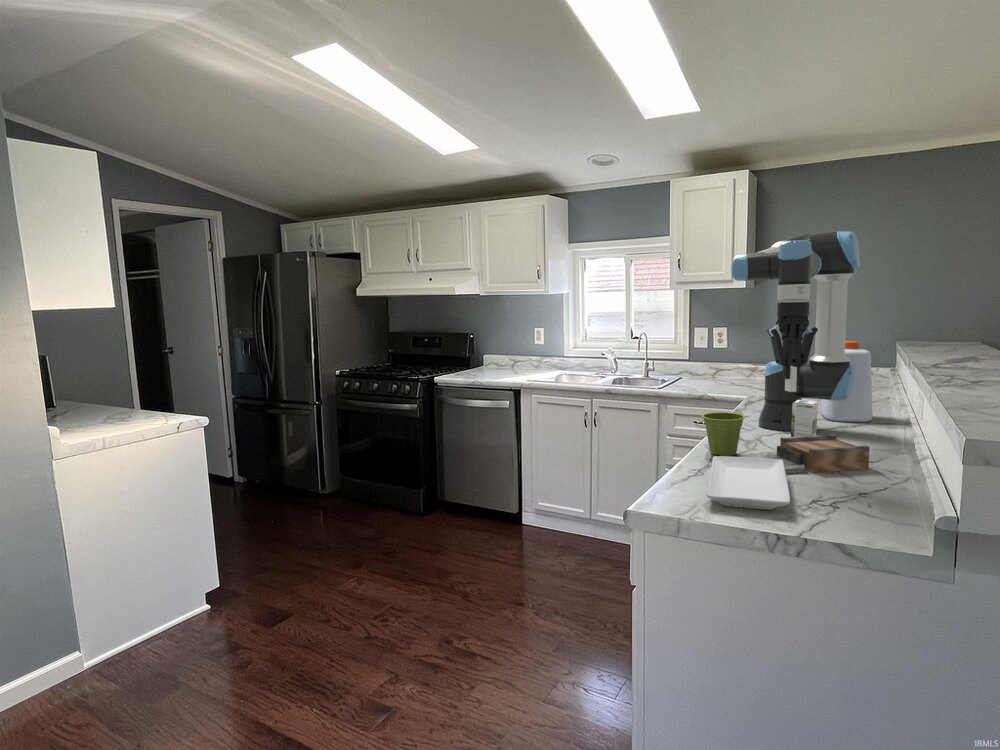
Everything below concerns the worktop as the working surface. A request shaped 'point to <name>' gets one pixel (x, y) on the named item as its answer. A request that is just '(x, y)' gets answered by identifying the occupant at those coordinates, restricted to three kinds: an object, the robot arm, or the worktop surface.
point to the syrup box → (804, 418)
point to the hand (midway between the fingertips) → (790, 390)
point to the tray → (748, 482)
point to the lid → (785, 458)
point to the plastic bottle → (853, 390)
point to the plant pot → (723, 432)
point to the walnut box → (828, 453)
